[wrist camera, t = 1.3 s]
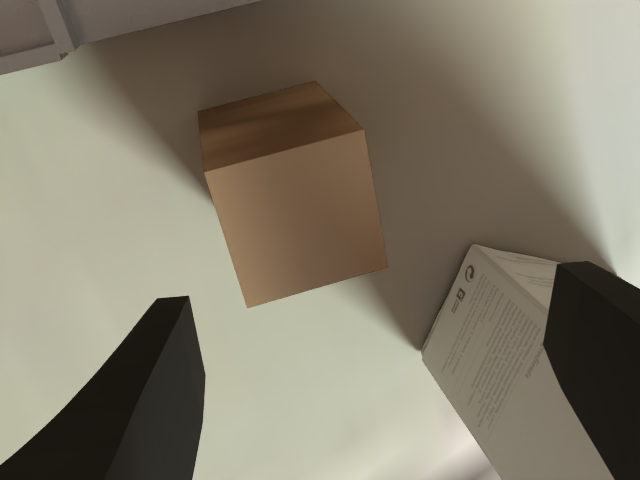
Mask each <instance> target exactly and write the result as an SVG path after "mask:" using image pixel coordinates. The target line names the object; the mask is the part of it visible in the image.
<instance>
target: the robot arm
mask: <svg viewBox="0 0 640 480" xmlns="http://www.w3.org/2000/svg"><path fill="white" fill-rule="evenodd" d="M543 346H544V349H545V351H546V354H547V356H548V359H549V361H550V364H551V367H552V369H553V371H554V374H555V376H556V378H557V381H558V383H559V385H560V387H561V389H562V391H563V393H564V395H565V397H566V398H567V400H568V402H569V404H570V405H571V407H572V409H573V410H574V412H575V414H576V416H577V417H578V419H579V421H580V422H581V424H582V426H583V428H584V429H585V431H586V433H587V434H588V436H589V438H590V439H591V441H592V443H593V444H594V446H595V448H596V449H597V451H598V453H599V454H600V456H601V458H602V459H603V461H604V463H605V465H606V466H607V468H608V470H609V471H610V473H611V475H612V476H613V478H614V480H640V289H639V288H637V287H635V286H633V285H632V284H630V283H628V282H626V281H625V280H623V279H621V278H619V277H617V276H616V275H614V274H612V273H610V272H608V271H606V270H605V269H603V268H601V267H599V266H597V265H595V264H593V263H590V262H588V261H583V262H572V263H560V264H557V266H556V272H555V278H554V283H553V289H552V295H551V301H550V306H549V312H548V318H547V323H546V329H545V335H544V340H543ZM204 393H205V371H204V366H203V361H202V356H201V351H200V347H199V342H198V337H197V332H196V327H195V323H194V318H193V313H192V308H191V303H190V299H189V296H180V297H169V298H157V299H156V301H155V302H154V303H153V304H152V305H151V306H150V308H149V309H148V310H147V311H146V313H145V314H144V315H143V316H142V318H141V319H140V320H139V321H138V323H137V324H136V325H135V326H134V328H133V329H132V330H131V332H130V333H129V334H128V335H127V337H126V338H125V339H124V340H123V342H122V343H121V344H120V345H119V346H118V348H117V349H116V350H115V351H114V352H113V354H112V355H111V356H110V357H109V358H108V360H107V361H106V362H105V363H104V364H103V365H102V367H101V368H100V369H99V370H98V371H97V373H96V374H95V375H94V376H93V377H92V378H91V379H90V380H89V381H88V383H87V384H86V385H85V386H84V387H83V388H82V389H81V390H80V391H79V392H78V393H77V394H76V395H75V396H74V398H73V399H72V400H71V401H70V402H69V403H68V404H67V405H66V406H65V407H64V408H63V409H62V410H61V411H60V412H59V413H58V414H57V415H56V416H55V417H54V418H53V419H52V420H51V421H50V422H49V423H48V424H47V425H46V426H45V427H44V428H43V429H41V430H40V431H39V432H38V433H37V434H36V435H35V436H34V437H33V438H31V439H30V440H29V441H28V442H27V443H26V444H25V445H24V446H23V447H22V448H20V449H19V450H18V451H17V452H16V453H15V454H13V455H12V456H11V457H10V458H9V459H7V460H6V461H5V462H4V463H2V464H1V465H0V480H192V477H193V472H194V467H195V462H196V456H197V451H198V445H199V440H200V434H201V429H202V423H203V410H204Z"/></svg>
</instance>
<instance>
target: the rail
mask: <svg viewBox="0 0 640 480" xmlns="http://www.w3.org/2000/svg"><path fill="white" fill-rule="evenodd" d="M258 1H262V0H0V75H3V74H7V73H11V72H15V71H19V70H23V69H27V68H31V67H35V66H39V65H44V64H48V63H52V62H56V61H60V60H62V59H63V58H64V57H65V56H67V55H68V52H70V51H74V50H76V49H77V48H78V47H79V46H80V45H82V44H86V43H90V42H94V41H98V40H102V39H106V38H110V37H114V36H118V35H123V34H127V33H131V32H135V31H139V30H143V29H147V28H151V27H155V26H159V25H164V24H168V23H172V22H176V21H180V20H184V19H188V18H192V17H196V16H200V15H204V14H209V13H213V12H217V11H221V10H225V9H229V8H233V7H237V6H241V5H245V4H250V3H254V2H258Z"/></svg>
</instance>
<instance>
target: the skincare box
mask: <svg viewBox="0 0 640 480" xmlns="http://www.w3.org/2000/svg"><path fill="white" fill-rule="evenodd" d="M557 264H560V262H556V261H551V260H547V259H542V258H538V257H533V256H528V255H524V254H518V253H512V252H506V251H500V250H496V249H492V248H488V247H484V246H481V245H477V244H473V245H472V246H471V247H470V249H469V250H468V252H467V254H466V257H465V259H464V261H463V263H462V265H461V267H460V270H459V273H458V275H457V277H456V280H455V282H454V284H453V286H452V288H451V290H450V292H449V294H448V296H447V298H446V300H445V302H444V305H443V306H442V308H441V310H440V312H439V314H438V316H437V318H436V320H435V322H434V325H433V326H432V329H431V331H430V333H429V335H428V337H427V340H426V342H425V344H424V346H423V348H422V351H421V354H422V361H423V362H424V364H425V366H426V367H427V369H428V370H429V372H430V373H431V375H432V376H433V378H434V379H435V381H436V382H437V384H438V385H439V387H440V388H441V390H442V391H443V393H444V394H445V396H446V397H447V399H448V400H449V402H450V403H451V404H452V406H453V407H454V409H455V410H456V412H457V413H458V415H459V416H460V418H461V419H462V421H463V422H464V424H465V425H466V427H467V428H468V430H469V431H470V433H471V434H472V436H473V437H474V439H475V440H476V442H477V443H478V445H479V446H480V448H481V449H482V451H483V452H484V454H485V455H486V457H487V458H488V460H489V461H490V463H491V464H492V466H493V467H494V469H495V470H496V472H497V473H498V475H499V476H500V478H501V479H502V480H614V478H613V476H612V475H611V473H610V471H609V470H608V468H607V466H606V465H605V463H604V461H603V459H602V458H601V456H600V454H599V453H598V451H597V449H596V448H595V446H594V444H593V443H592V441H591V439H590V438H589V436H588V434H587V433H586V431H585V429H584V428H583V426H582V424H581V422H580V421H579V419H578V417H577V416H576V414H575V412H574V410H573V409H572V407H571V405H570V404H569V402H568V400H567V398H566V397H565V395H564V393H563V391H562V389H561V387H560V385H559V383H558V381H557V378H556V376H555V374H554V371H553V369H552V367H551V364H550V361H549V359H548V356H547V354H546V351H545V349H544V346H543V340H544V335H545V329H546V323H547V318H548V312H549V306H550V301H551V295H552V289H553V283H554V278H555V272H556V266H557ZM617 277H619V276H617ZM619 278H621V277H619ZM621 279H622V278H621Z"/></svg>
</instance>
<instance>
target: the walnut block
mask: <svg viewBox="0 0 640 480" xmlns="http://www.w3.org/2000/svg"><path fill="white" fill-rule="evenodd" d="M198 119H199V129H200V139H201V149H202V159H203V169H204V175H205V178H206V181H207V184H208V187H209V190H210V193H211V196H212V200H213V203H214V206H215V209H216V212H217V215H218V218H219V221H220V225H221V228H222V231H223V234H224V237H225V240H226V243H227V246H228V249H229V253H230V256H231V259H232V262H233V265H234V268H235V271H236V274H237V278H238V281H239V284H240V287H241V290H242V293H243V296H244V299H245V303H246V306H247V308H250V307H253V306H257V305H260V304H264V303H267V302H271V301H274V300H277V299H281V298H284V297H288V296H291V295H295V294H298V293H301V292H305V291H308V290H312V289H315V288H319V287H322V286H325V285H329V284H332V283H336V282H339V281H343V280H346V279H349V278H353V277H356V276H360V275H363V274H367V273H370V272H373V271H377V270H380V269H384V268H387V267H388V263H387V257H386V252H385V246H384V240H383V234H382V229H381V223H380V217H379V212H378V206H377V200H376V194H375V189H374V183H373V177H372V171H371V166H370V160H369V154H368V149H367V143H366V137H365V131H364V129H363V128H362V127H361V126H360V125H359V124H358V123H357V122H356V121H355V120H354V119H353V118H352V117H351V116H350V115H349V114H348V113H347V112H346V111H345V110H344V109H343V108H342V107H341V106H340V105H339V104H338V103H337V102H336V101H335V100H334V99H333V98H332V97H331V96H330V95H329V94H328V93H327V92H326V91H325V90H324V89H323V88H322V87H321V86H320V85H319V84H318V83H317V82H316V81H314V82H310V83H306V84H303V85H299V86H295V87H291V88H287V89H283V90H279V91H276V92H272V93H268V94H264V95H260V96H256V97H252V98H248V99H245V100H241V101H237V102H233V103H229V104H225V105H221V106H218V107H214V108H210V109H206V110H202V111H198Z"/></svg>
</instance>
